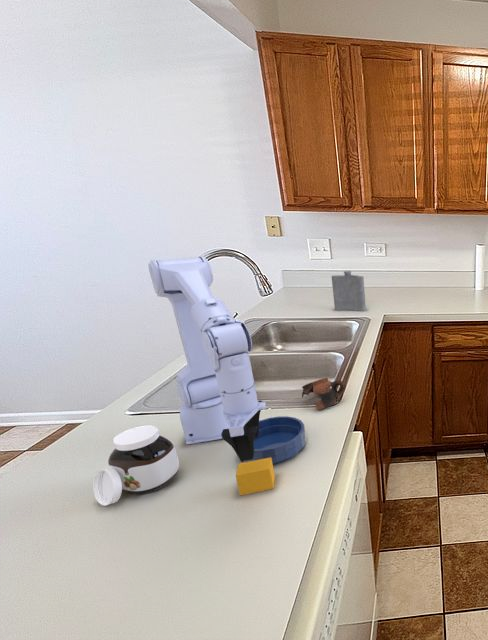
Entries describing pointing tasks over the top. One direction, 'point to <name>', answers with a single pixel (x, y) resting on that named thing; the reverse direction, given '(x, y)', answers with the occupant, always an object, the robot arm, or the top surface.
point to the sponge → (255, 476)
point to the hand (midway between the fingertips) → (250, 447)
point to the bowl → (279, 439)
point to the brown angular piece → (324, 392)
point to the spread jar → (136, 465)
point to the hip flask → (348, 292)
